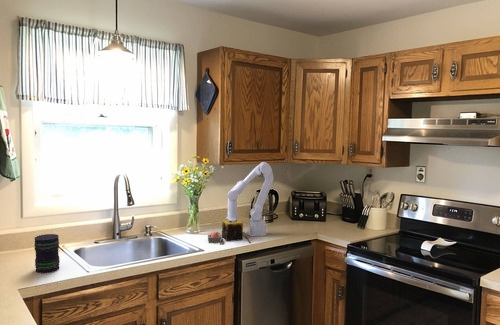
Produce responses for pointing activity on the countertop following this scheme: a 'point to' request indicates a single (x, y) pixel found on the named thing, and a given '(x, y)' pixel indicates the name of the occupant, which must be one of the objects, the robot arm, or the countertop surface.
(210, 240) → the button box
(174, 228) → the countertop surface
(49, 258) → the storage jar
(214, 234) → the dome
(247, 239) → the track
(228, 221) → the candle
